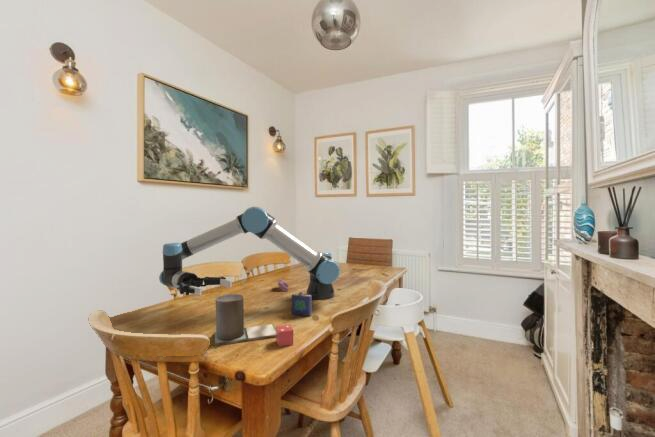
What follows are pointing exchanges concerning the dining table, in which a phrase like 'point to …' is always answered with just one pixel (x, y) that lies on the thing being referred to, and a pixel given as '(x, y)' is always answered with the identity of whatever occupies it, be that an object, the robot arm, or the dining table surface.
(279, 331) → the red die
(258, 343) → the dining table surface
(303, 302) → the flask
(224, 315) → the pillar candle
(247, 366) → the dining table surface
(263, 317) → the dining table surface
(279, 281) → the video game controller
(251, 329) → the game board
